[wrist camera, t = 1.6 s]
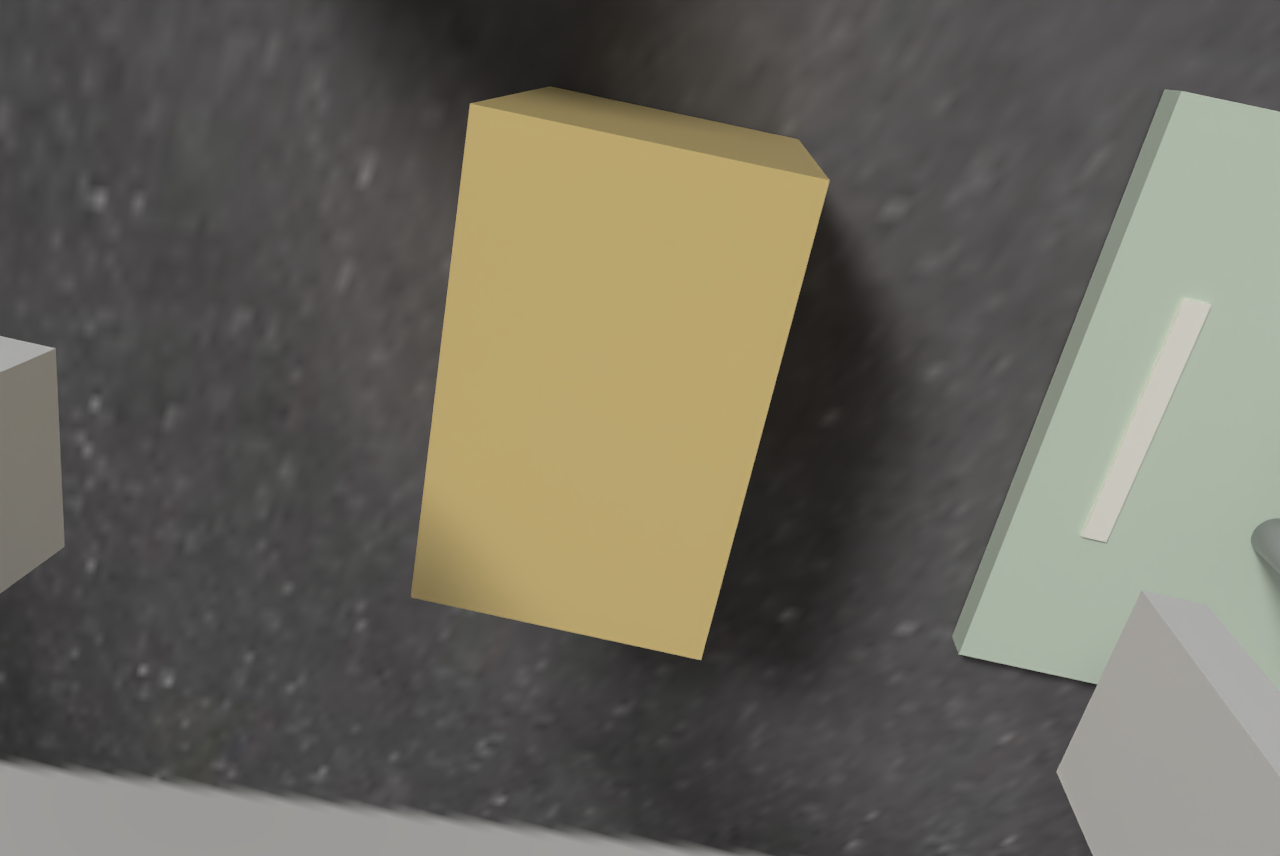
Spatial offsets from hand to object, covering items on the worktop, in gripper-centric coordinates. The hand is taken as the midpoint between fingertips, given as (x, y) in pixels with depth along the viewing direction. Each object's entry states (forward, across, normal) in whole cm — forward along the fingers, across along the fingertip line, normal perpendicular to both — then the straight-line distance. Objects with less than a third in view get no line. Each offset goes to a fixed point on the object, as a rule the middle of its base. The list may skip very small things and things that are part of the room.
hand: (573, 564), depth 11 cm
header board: (+12, +16, 0) cm, 20 cm away
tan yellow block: (+12, 0, 0) cm, 12 cm away
